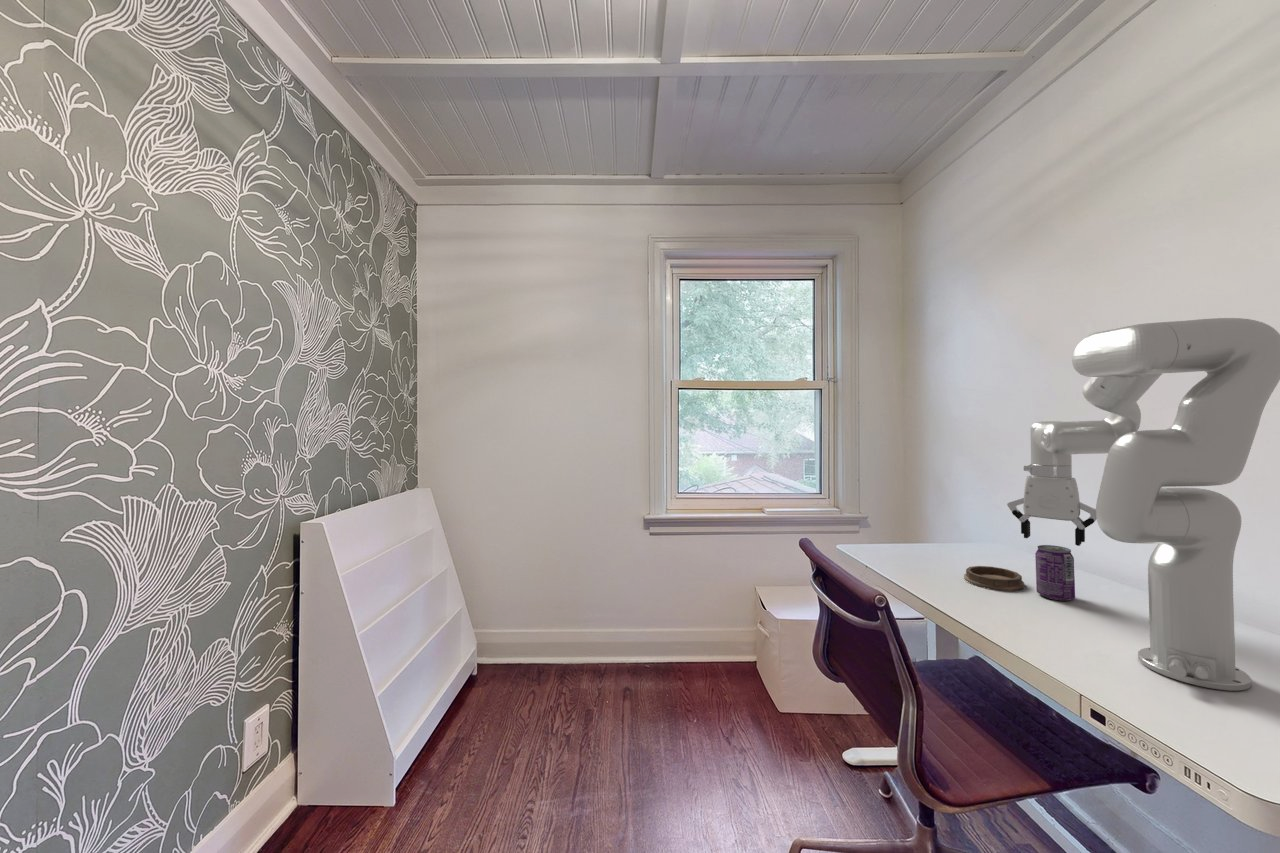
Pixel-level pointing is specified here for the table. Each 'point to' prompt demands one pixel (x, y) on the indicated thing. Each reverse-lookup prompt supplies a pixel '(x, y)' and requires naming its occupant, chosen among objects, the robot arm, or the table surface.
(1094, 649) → the table surface
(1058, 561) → the beverage can
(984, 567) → the walnut coaster
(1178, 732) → the table surface
